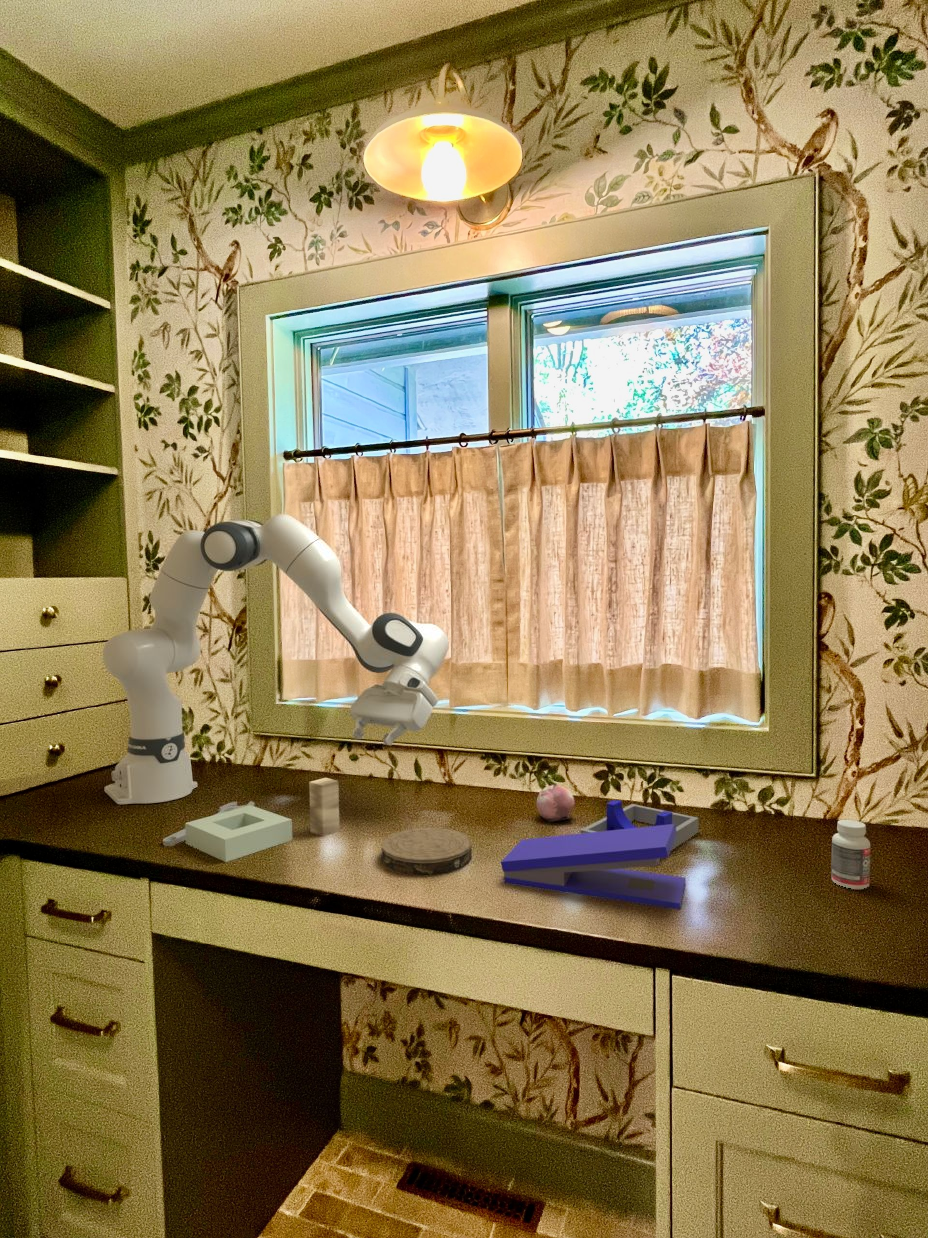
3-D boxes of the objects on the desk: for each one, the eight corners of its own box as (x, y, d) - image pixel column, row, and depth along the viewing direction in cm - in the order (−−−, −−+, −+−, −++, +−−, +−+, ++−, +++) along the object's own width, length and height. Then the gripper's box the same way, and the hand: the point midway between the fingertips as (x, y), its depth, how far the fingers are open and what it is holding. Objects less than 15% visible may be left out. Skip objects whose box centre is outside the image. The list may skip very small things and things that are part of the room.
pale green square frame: (185, 844, 136) (185, 823, 136) (250, 824, 146) (250, 805, 146) (225, 862, 127) (225, 839, 126) (292, 840, 137) (291, 819, 137)
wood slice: (363, 861, 127) (363, 845, 127) (426, 837, 139) (425, 822, 139) (428, 885, 117) (428, 867, 116) (490, 857, 128) (489, 840, 128)
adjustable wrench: (171, 850, 134) (170, 841, 134) (145, 846, 137) (145, 836, 137) (259, 810, 157) (259, 802, 157) (236, 806, 160) (235, 798, 160)
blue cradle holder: (675, 842, 133) (676, 810, 133) (664, 849, 130) (664, 816, 129) (618, 828, 141) (618, 798, 141) (606, 834, 138) (606, 803, 138)
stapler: (679, 913, 106) (679, 848, 105) (499, 886, 116) (498, 826, 116) (685, 883, 117) (686, 823, 116) (520, 860, 127) (520, 805, 126)
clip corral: (580, 845, 133) (580, 829, 132) (632, 818, 148) (632, 803, 147) (650, 864, 123) (650, 847, 123) (698, 833, 138) (698, 817, 138)
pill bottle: (872, 893, 111) (873, 830, 111) (833, 888, 113) (834, 826, 113) (866, 879, 116) (867, 820, 116) (829, 874, 118) (830, 816, 118)
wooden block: (310, 832, 142) (309, 782, 141) (326, 826, 145) (325, 777, 144) (323, 836, 139) (322, 785, 138) (339, 831, 142) (338, 781, 141)
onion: (532, 824, 147) (525, 789, 149) (557, 819, 152) (551, 785, 154) (560, 821, 142) (554, 784, 144) (586, 816, 147) (579, 780, 149)
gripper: (363, 675, 162) (330, 725, 155) (429, 683, 149) (396, 738, 142) (378, 692, 166) (346, 742, 159) (444, 701, 152) (412, 756, 146)
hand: (370, 740), depth 150 cm, fingers open, 8 cm apart
